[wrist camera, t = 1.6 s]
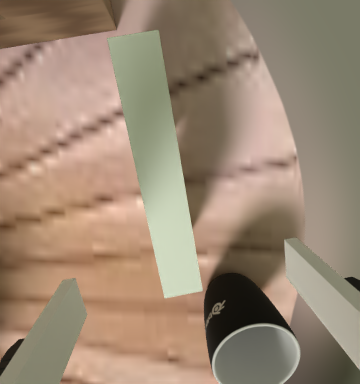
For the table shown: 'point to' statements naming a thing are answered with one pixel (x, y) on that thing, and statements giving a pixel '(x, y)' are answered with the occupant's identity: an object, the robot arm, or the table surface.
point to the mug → (247, 334)
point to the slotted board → (52, 20)
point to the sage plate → (156, 157)
